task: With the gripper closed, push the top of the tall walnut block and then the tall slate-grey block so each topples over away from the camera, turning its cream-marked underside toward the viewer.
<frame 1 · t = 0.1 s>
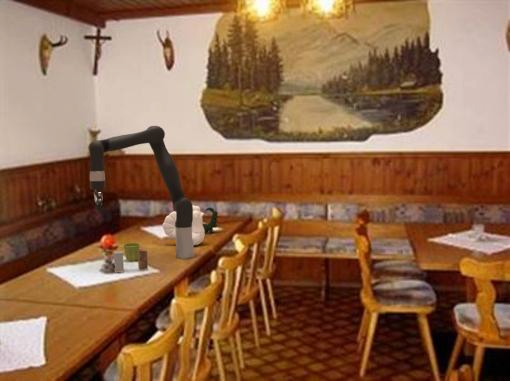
hand: (98, 210, 286), 29 cm above the table, tool pointing down, fingers open, 8 cm apart
decorative rooster: (184, 245, 337), on the table
toy figurine: (199, 233, 374), on the table
plant pot: (132, 260, 300), on the table
slate-grey block: (119, 271, 276), on the table
walnut block: (143, 269, 280), on the table
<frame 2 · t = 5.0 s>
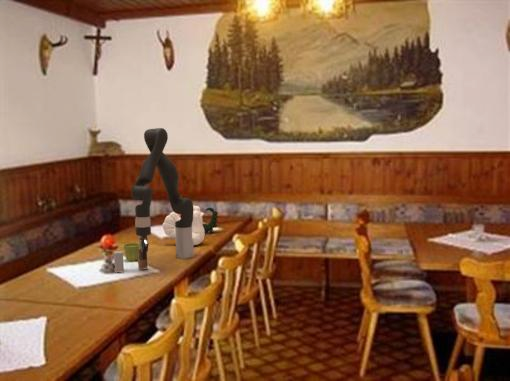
hand: (144, 259, 276), 6 cm above the table, tool pointing down, fingers closed
walnut block: (143, 268, 280), on the table, tilted 7°
everything else where it was.
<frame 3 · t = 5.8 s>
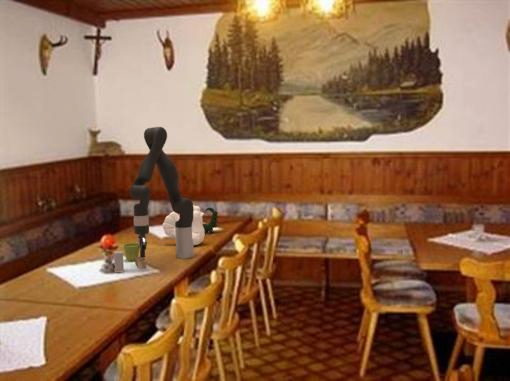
hand: (142, 257, 281), 6 cm above the table, tool pointing down, fingers closed
walnut block: (142, 264, 282), point 2 cm above the table, tilted 90°
everything else where it was.
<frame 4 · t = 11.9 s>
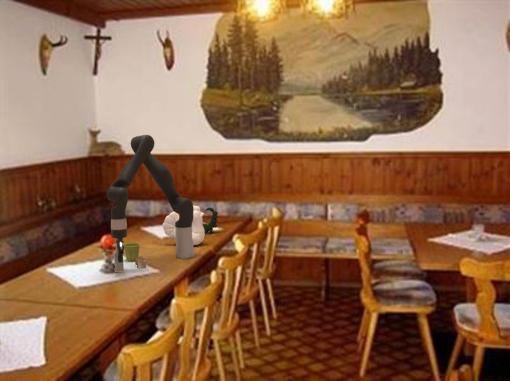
hand: (120, 262, 271), 6 cm above the table, tool pointing down, fingers closed
slate-grey block: (119, 271, 276), on the table, touching gripper
everything else where it was.
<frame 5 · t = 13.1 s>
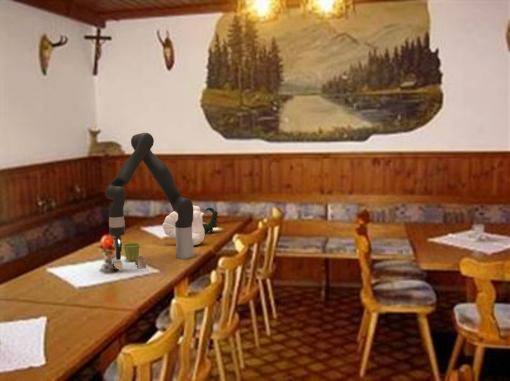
hand: (118, 259, 277), 6 cm above the table, tool pointing down, fingers closed
slate-grey block: (118, 266, 278), point 2 cm above the table, tilted 90°
everything else where it was.
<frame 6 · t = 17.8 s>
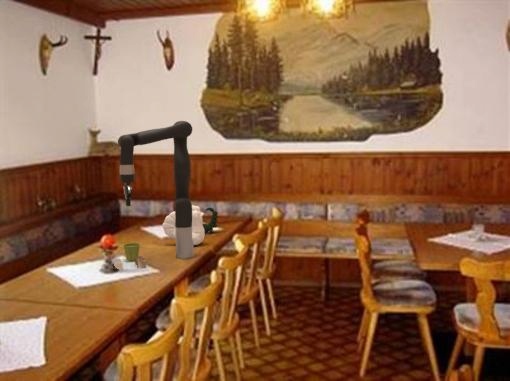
hand: (128, 205, 289), 31 cm above the table, tool pointing down, fingers closed
nothing on the table moved.
at the end: walnut block tilted 90°; slate-grey block tilted 90°; walnut block inside the target area (3.0 cm from its centre), point 1.9 cm above the table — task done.
